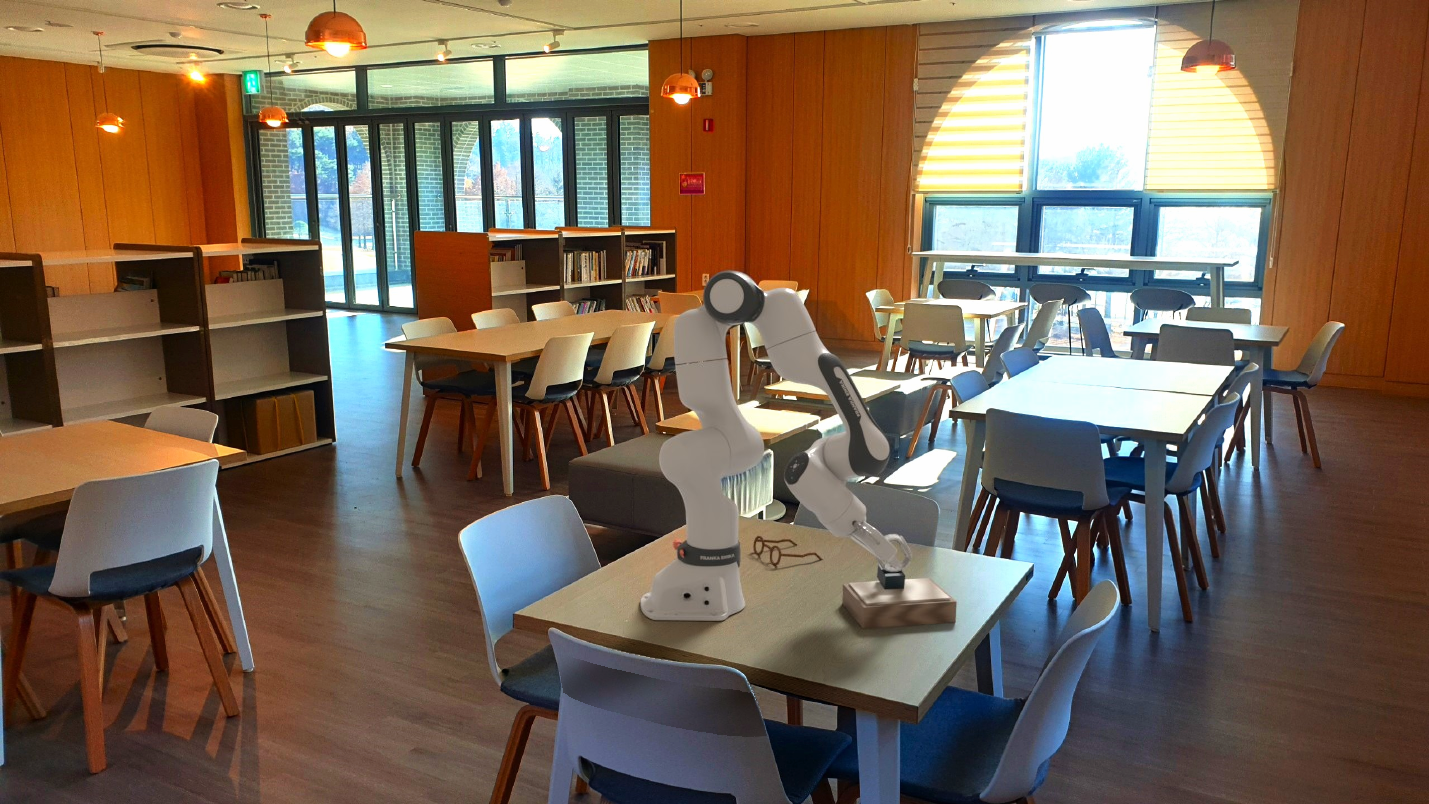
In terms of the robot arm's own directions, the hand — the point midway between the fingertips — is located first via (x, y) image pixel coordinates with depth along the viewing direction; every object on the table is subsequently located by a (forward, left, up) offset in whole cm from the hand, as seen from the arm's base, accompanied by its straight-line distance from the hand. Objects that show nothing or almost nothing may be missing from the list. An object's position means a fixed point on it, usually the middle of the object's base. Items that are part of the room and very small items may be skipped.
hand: (885, 557), depth 212 cm
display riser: (+3, 0, -13) cm, 13 cm away
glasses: (-10, +40, -13) cm, 44 cm away
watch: (+3, +4, -7) cm, 9 cm away
